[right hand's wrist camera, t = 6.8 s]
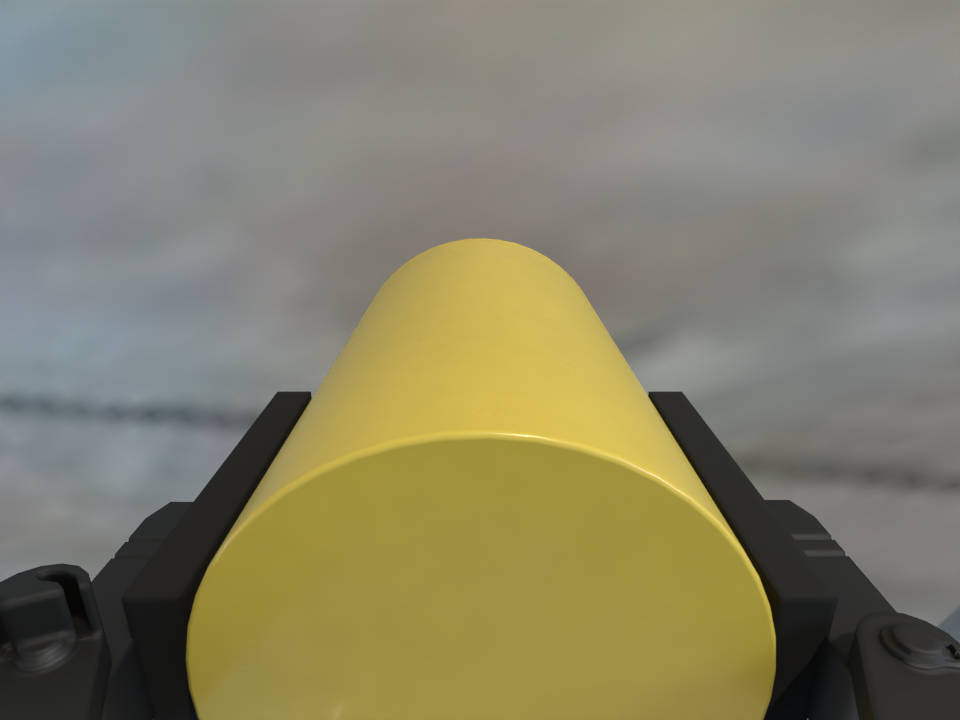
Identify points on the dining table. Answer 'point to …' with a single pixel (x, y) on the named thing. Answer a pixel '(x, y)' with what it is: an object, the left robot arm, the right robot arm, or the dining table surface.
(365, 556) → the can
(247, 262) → the dining table surface
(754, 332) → the dining table surface
